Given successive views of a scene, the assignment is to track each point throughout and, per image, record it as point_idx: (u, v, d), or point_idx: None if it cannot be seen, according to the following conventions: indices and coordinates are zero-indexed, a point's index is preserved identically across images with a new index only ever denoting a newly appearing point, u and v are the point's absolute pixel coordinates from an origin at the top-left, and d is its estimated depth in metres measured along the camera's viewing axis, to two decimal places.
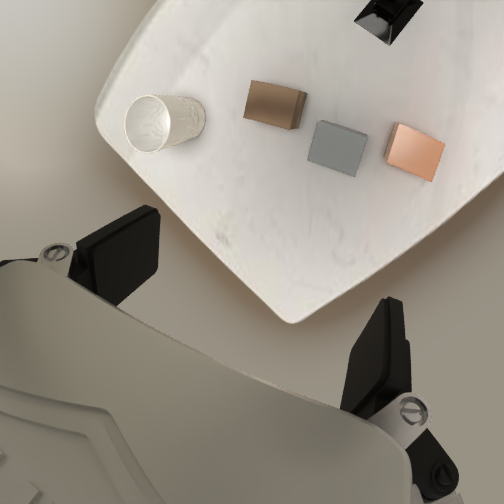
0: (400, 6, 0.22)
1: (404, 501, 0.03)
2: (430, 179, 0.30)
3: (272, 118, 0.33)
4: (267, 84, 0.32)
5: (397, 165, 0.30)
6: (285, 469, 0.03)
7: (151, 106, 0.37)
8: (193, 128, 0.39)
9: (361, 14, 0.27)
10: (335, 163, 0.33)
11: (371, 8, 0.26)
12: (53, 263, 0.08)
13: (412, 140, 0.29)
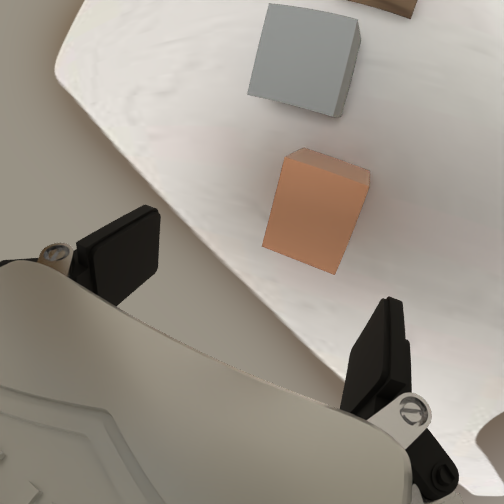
0: None
1: (404, 501, 0.03)
2: (266, 244, 0.19)
3: None
4: None
5: (282, 179, 0.17)
6: (285, 469, 0.03)
7: None
8: None
9: None
10: (269, 54, 0.14)
11: None
12: (53, 263, 0.08)
13: (336, 211, 0.17)
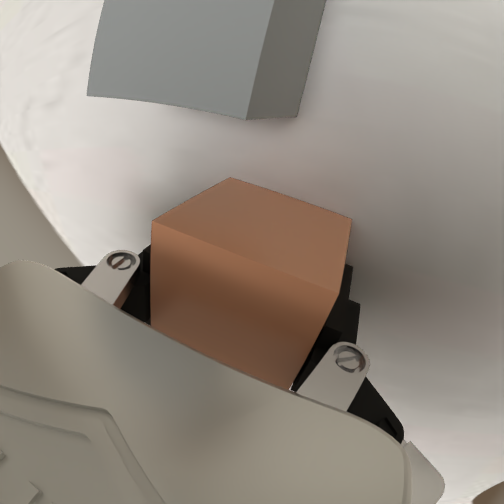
0: None
1: (404, 501, 0.03)
2: None
3: None
4: None
5: (155, 264, 0.08)
6: (285, 469, 0.03)
7: None
8: None
9: None
10: (119, 7, 0.05)
11: None
12: (113, 271, 0.08)
13: (265, 334, 0.08)
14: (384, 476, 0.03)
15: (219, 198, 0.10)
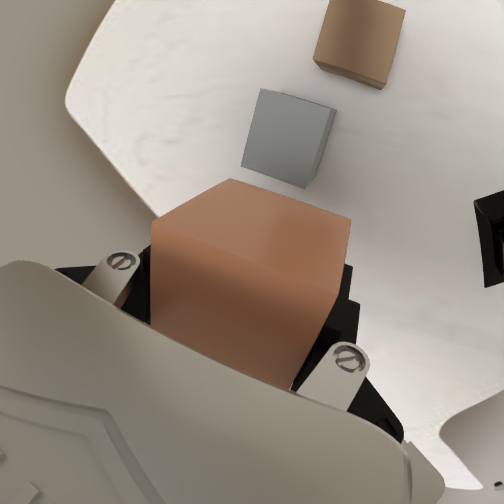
0: None
1: (404, 501, 0.03)
2: None
3: (333, 33, 0.15)
4: (397, 33, 0.13)
5: (155, 265, 0.08)
6: (285, 469, 0.03)
7: None
8: None
9: None
10: (258, 135, 0.20)
11: None
12: (113, 271, 0.08)
13: (264, 335, 0.08)
14: (384, 476, 0.03)
15: (219, 199, 0.10)
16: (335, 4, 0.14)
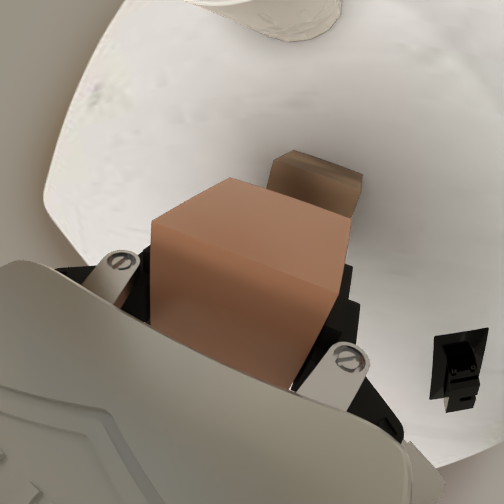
0: (450, 401, 0.19)
1: (404, 501, 0.03)
2: None
3: None
4: None
5: (155, 265, 0.08)
6: (285, 469, 0.03)
7: None
8: (257, 29, 0.14)
9: (484, 340, 0.20)
10: None
11: (478, 355, 0.20)
12: (113, 271, 0.08)
13: (264, 334, 0.08)
14: (384, 476, 0.03)
15: (219, 198, 0.10)
16: (275, 185, 0.16)
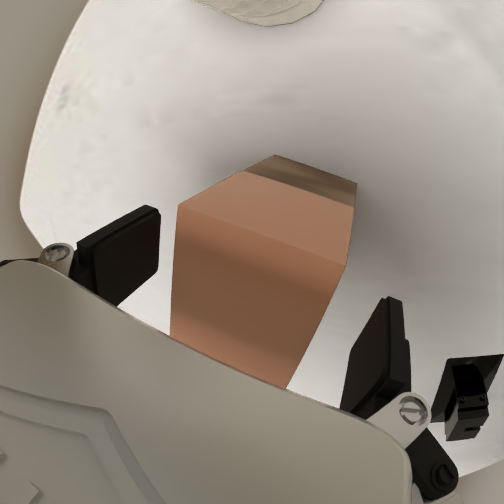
0: (454, 430, 0.16)
1: (404, 501, 0.03)
2: None
3: None
4: None
5: (179, 245, 0.09)
6: (285, 469, 0.03)
7: None
8: (225, 11, 0.11)
9: (497, 367, 0.17)
10: None
11: (487, 382, 0.17)
12: (53, 263, 0.08)
13: (279, 307, 0.09)
14: (384, 476, 0.03)
15: (235, 188, 0.11)
16: None
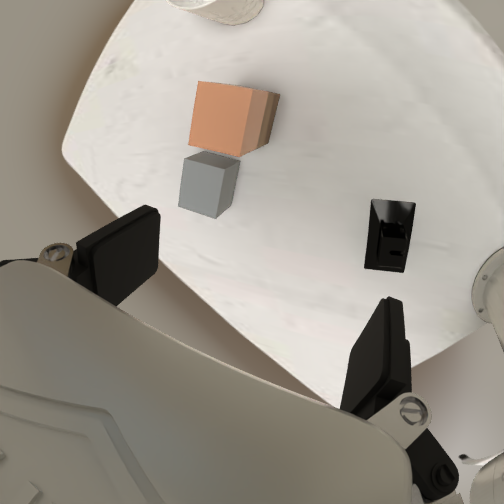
0: (382, 251, 0.31)
1: (404, 501, 0.03)
2: (191, 142, 0.25)
3: None
4: None
5: (197, 95, 0.23)
6: (285, 469, 0.03)
7: None
8: (213, 19, 0.24)
9: (412, 215, 0.31)
10: (186, 187, 0.33)
11: (406, 228, 0.32)
12: (53, 263, 0.08)
13: (233, 110, 0.23)
14: (384, 476, 0.03)
15: None
16: None
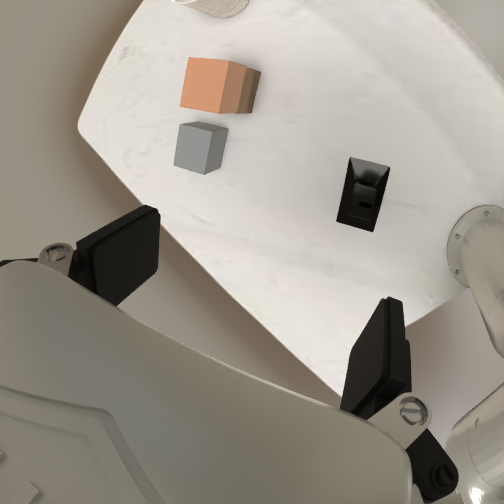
0: (352, 200, 0.34)
1: (404, 501, 0.03)
2: (182, 104, 0.30)
3: None
4: None
5: (188, 68, 0.28)
6: (285, 469, 0.03)
7: None
8: (206, 12, 0.29)
9: (385, 178, 0.35)
10: (180, 148, 0.38)
11: (379, 189, 0.36)
12: (53, 263, 0.08)
13: (214, 77, 0.28)
14: (384, 476, 0.03)
15: None
16: None
